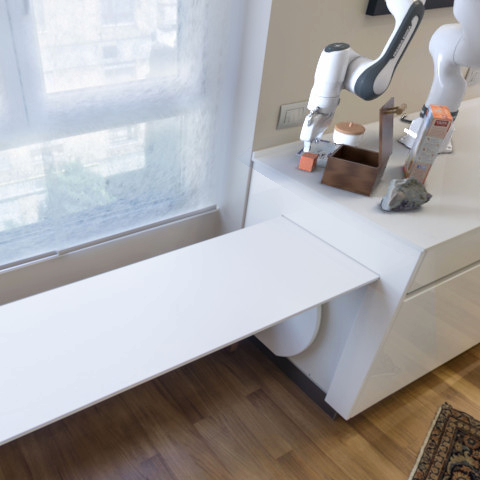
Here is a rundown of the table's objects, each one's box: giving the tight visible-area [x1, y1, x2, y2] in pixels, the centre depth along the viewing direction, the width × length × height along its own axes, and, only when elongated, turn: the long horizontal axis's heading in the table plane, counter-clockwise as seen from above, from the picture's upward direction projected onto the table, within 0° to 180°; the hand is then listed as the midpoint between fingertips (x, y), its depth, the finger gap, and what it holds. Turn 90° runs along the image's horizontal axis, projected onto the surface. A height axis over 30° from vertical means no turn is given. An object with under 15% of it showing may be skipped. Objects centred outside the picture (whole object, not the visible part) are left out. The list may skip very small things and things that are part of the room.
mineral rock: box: [380, 176, 433, 212], centre depth 129 cm, size 13×11×10 cm
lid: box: [378, 96, 408, 168], centre depth 130 cm, size 17×14×5 cm
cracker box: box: [403, 104, 454, 185], centre depth 143 cm, size 14×6×21 cm, turn 160°
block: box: [298, 151, 319, 173], centre depth 151 cm, size 4×4×4 cm
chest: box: [320, 144, 391, 197], centre depth 142 cm, size 16×14×9 cm
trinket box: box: [332, 121, 366, 147], centre depth 164 cm, size 11×11×9 cm
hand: (311, 147), depth 148 cm, fingers open, 8 cm apart
